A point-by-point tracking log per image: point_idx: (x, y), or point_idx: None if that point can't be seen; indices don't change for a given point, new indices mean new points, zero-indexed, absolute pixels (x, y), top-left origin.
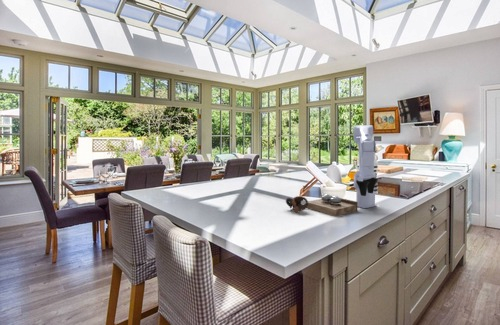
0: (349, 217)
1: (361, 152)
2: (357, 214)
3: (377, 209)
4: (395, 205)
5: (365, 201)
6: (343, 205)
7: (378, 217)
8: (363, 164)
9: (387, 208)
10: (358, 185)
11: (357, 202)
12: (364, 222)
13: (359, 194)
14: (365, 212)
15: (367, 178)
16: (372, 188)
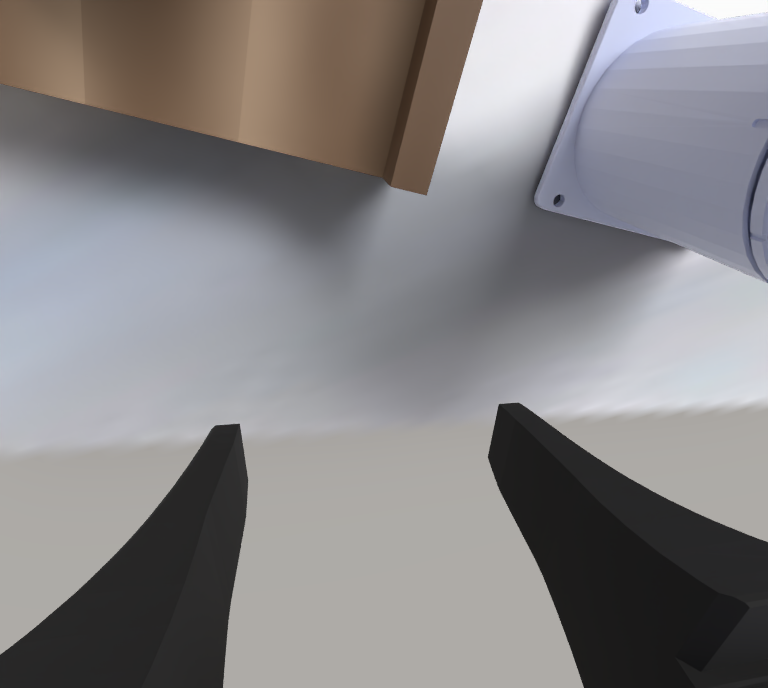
0: (51, 238)
1: None
2: (244, 247)
3: (559, 306)
4: (760, 354)
5: (620, 203)
6: (221, 16)
7: (295, 420)
8: None
9: (632, 351)
10: (75, 604)
11: (421, 192)
12: (45, 415)
13: (702, 124)
14: (381, 273)
15: None
16: (525, 525)
